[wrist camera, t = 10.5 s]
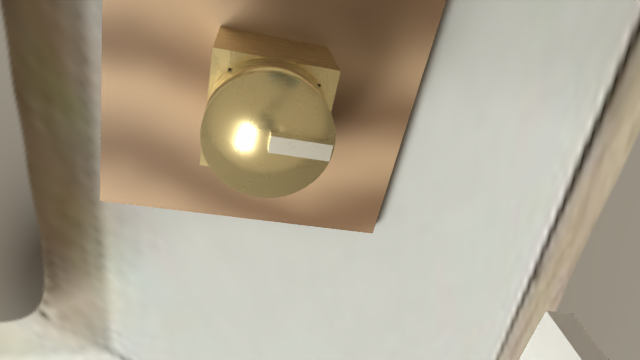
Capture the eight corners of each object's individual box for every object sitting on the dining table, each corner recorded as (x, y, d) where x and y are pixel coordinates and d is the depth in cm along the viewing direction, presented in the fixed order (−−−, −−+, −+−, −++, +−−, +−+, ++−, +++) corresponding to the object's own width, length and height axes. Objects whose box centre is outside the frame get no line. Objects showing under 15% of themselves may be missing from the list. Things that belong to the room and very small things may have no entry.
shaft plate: (110, -130, 23) (76, -141, 19) (453, -44, 27) (491, -37, 22) (104, 193, 31) (79, 237, 27) (369, 225, 35) (385, 269, 30)
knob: (208, 127, 29) (192, 194, 22) (220, 26, 26) (206, 64, 19) (306, 142, 30) (321, 210, 23) (327, 46, 27) (351, 90, 20)
